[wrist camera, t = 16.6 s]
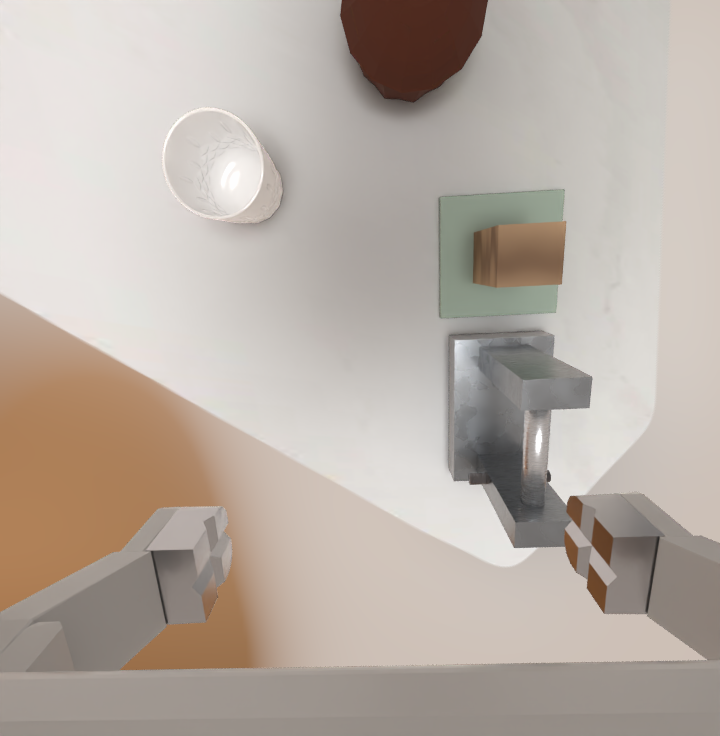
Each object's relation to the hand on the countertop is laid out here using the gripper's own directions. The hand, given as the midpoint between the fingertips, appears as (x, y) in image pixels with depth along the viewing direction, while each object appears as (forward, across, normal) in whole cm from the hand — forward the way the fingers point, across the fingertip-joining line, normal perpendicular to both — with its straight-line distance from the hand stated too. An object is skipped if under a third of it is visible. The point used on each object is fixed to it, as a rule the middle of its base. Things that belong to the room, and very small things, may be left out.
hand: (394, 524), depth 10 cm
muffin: (+35, -4, -25) cm, 43 cm away
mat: (+35, -13, -6) cm, 38 cm away
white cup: (+35, +12, -14) cm, 40 cm away
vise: (+35, -13, +10) cm, 39 cm away
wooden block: (+34, -13, -6) cm, 37 cm away
